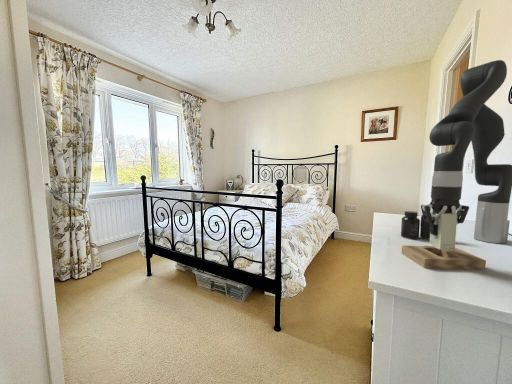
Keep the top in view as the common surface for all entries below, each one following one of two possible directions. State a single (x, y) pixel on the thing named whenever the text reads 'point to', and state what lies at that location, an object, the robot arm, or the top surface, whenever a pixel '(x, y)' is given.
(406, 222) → the supplement bottle
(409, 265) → the top surface
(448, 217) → the skincare box
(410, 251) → the board
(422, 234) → the battery charger
